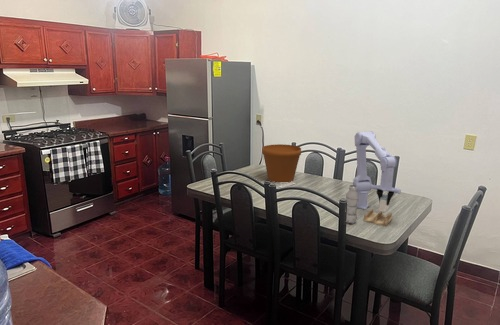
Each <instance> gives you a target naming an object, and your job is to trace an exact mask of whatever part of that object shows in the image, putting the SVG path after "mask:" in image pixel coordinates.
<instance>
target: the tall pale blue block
mask: <svg viewBox="0 0 500 325" xmlns="http://www.w3.org/2000/svg"><path fill="white" fill-rule="evenodd" d="M387 198H388V194H385V193H383V196H382V197H381V198H380V202H379V209H378V211H379V212H380V211H382V213H383V212H384V213H385V212H386V211H387V210H388V209H389V207H390V206H389V205H390V204H389V205H387Z"/></svg>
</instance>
